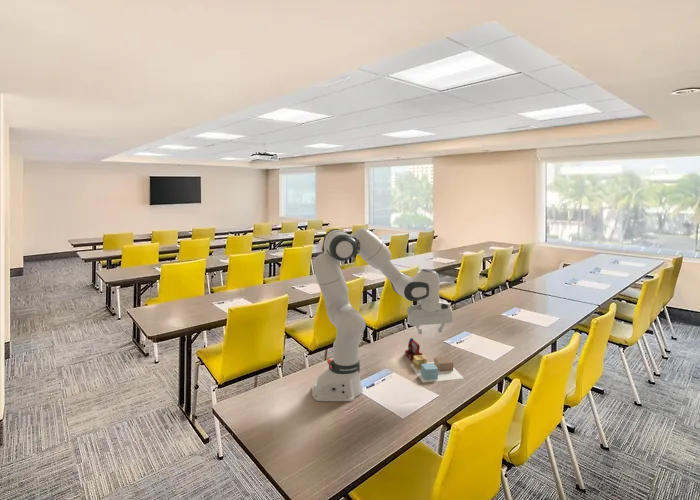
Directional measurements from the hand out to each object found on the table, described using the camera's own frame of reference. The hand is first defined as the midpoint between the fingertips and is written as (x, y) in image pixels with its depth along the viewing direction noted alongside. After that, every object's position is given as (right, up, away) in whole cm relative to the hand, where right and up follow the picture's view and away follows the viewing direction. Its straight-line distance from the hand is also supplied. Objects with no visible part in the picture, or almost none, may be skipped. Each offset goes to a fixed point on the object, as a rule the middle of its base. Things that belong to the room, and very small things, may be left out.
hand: (430, 332), depth 178 cm
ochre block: (-2, -20, +13) cm, 24 cm away
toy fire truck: (-3, -19, +25) cm, 32 cm away
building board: (+5, -22, +9) cm, 24 cm away
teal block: (0, -21, +4) cm, 22 cm away
